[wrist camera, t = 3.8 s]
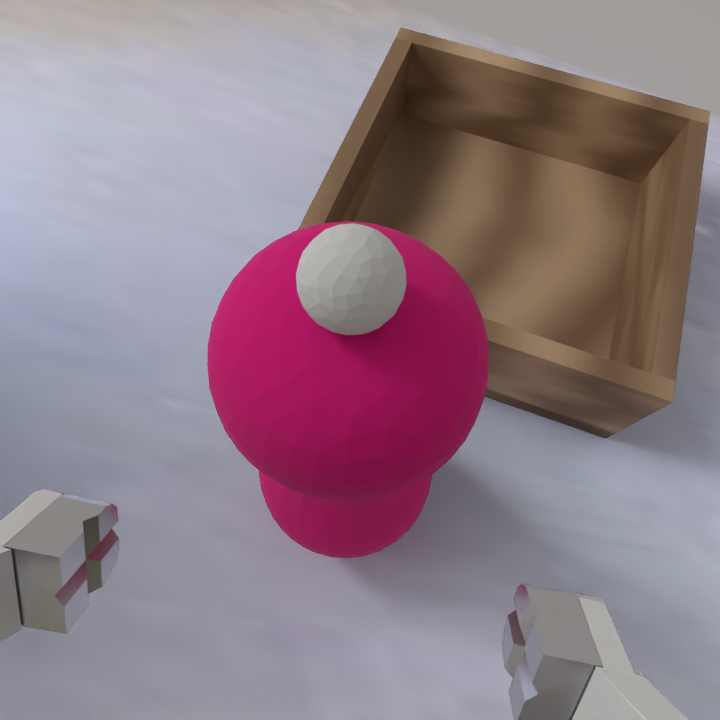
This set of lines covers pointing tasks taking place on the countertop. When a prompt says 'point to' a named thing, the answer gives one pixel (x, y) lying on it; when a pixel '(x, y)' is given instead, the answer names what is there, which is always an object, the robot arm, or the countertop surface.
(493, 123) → the tray
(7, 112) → the countertop surface
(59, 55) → the countertop surface
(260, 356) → the pepper mill
